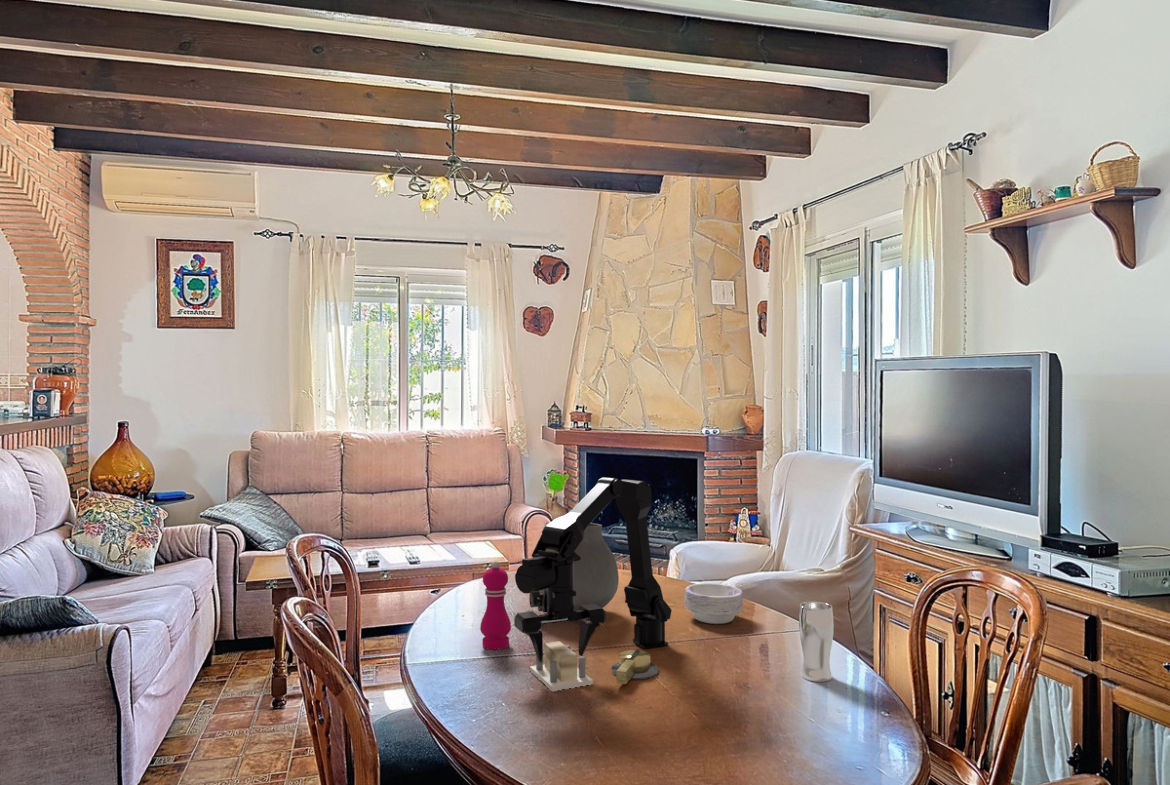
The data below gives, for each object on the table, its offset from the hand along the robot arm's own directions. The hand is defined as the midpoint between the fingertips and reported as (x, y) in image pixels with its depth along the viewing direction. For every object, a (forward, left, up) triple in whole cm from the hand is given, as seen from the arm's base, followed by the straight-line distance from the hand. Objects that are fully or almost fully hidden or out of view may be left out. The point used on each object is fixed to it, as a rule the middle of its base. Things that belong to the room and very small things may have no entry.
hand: (560, 658), depth 167 cm
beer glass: (-49, +22, -4) cm, 54 cm away
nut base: (-16, +3, -4) cm, 17 cm away
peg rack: (0, 0, -4) cm, 4 cm away
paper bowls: (-53, -23, -4) cm, 58 cm away
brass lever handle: (-14, +6, -3) cm, 15 cm away
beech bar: (0, 0, -3) cm, 3 cm away
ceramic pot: (-21, -42, -4) cm, 47 cm away
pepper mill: (+6, -26, -4) cm, 27 cm away
